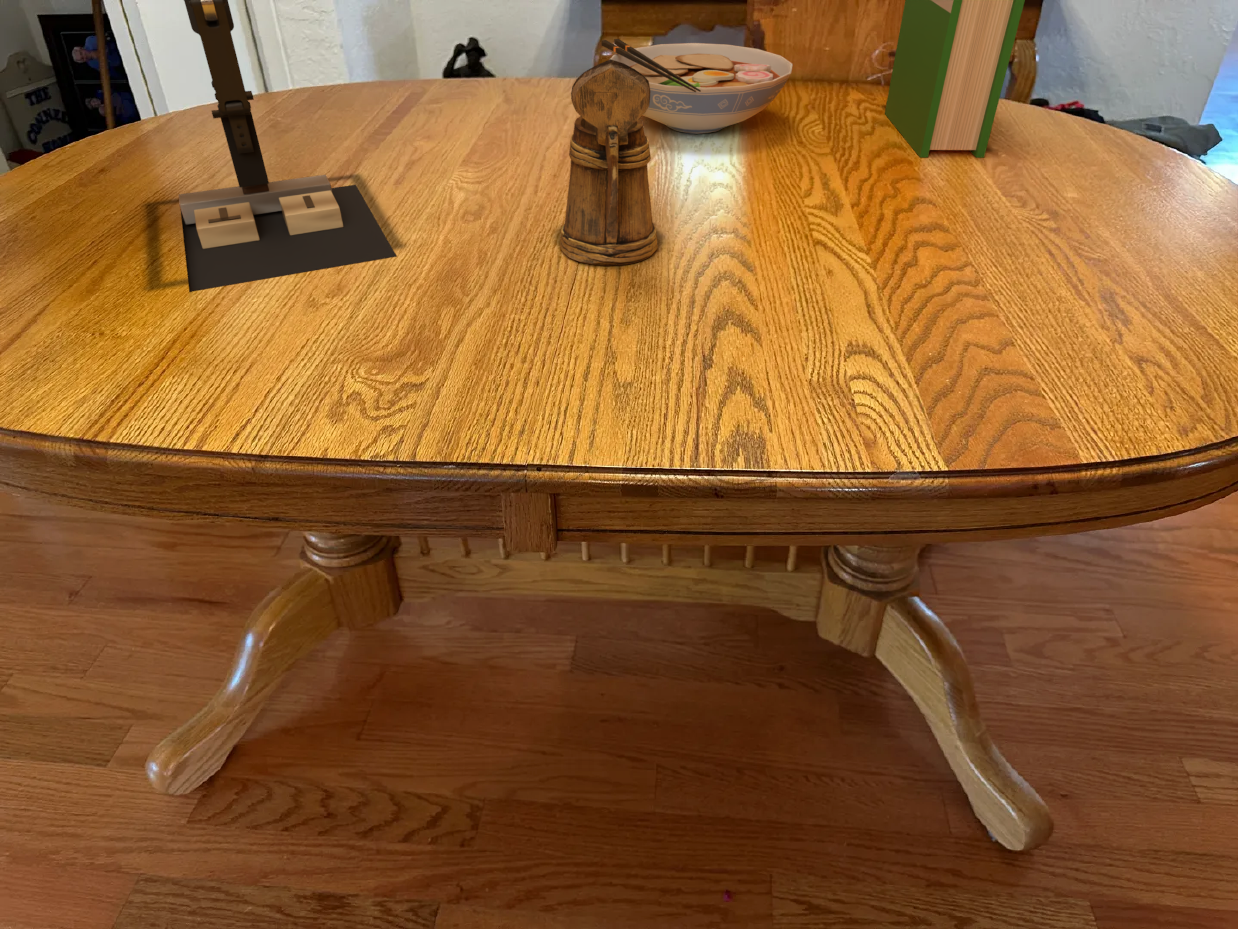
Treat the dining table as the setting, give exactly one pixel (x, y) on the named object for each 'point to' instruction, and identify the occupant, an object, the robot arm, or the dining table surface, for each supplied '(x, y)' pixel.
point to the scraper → (251, 195)
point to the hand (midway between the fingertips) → (252, 178)
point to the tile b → (311, 212)
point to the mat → (288, 247)
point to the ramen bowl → (705, 82)
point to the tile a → (226, 225)
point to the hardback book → (951, 72)
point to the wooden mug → (609, 169)
